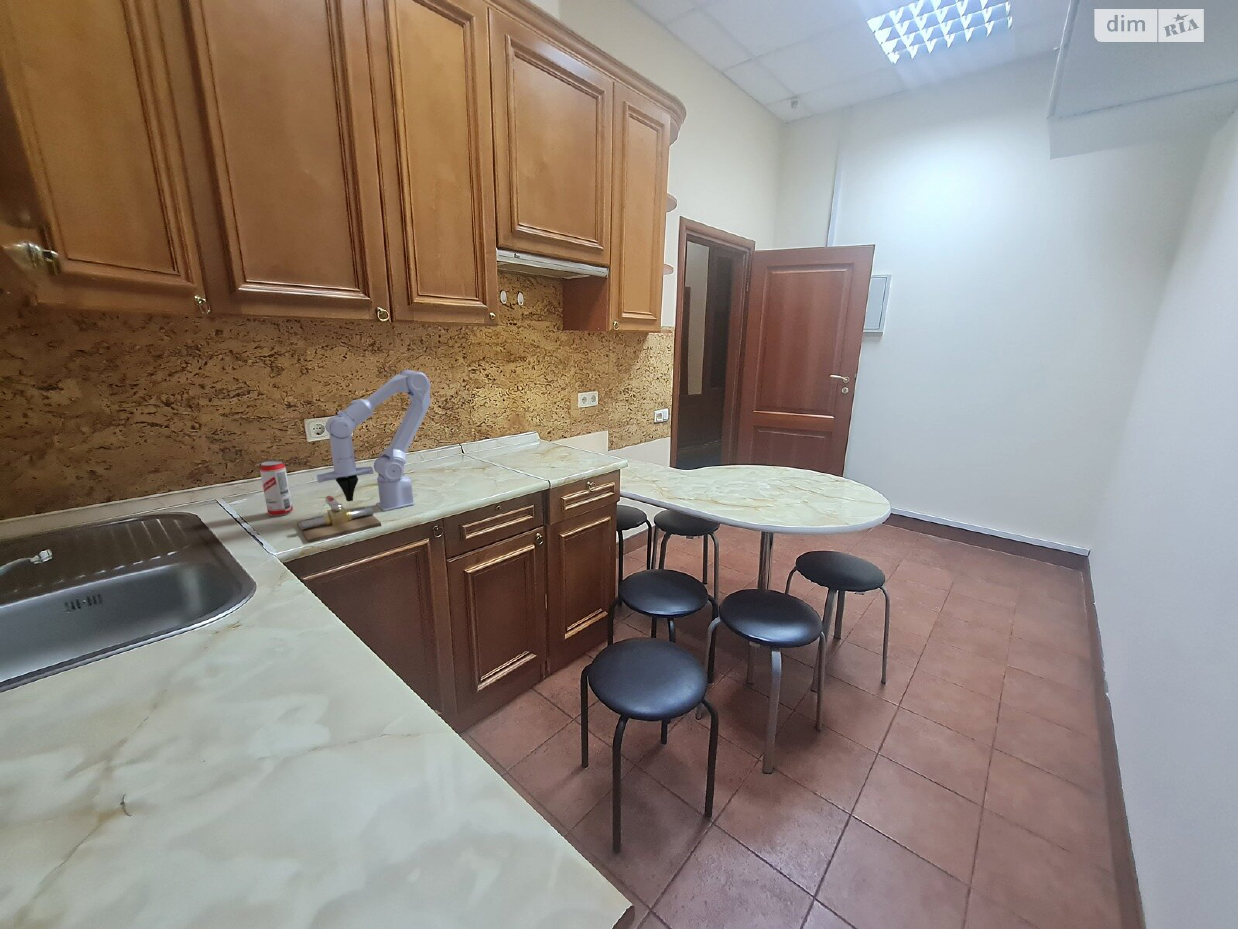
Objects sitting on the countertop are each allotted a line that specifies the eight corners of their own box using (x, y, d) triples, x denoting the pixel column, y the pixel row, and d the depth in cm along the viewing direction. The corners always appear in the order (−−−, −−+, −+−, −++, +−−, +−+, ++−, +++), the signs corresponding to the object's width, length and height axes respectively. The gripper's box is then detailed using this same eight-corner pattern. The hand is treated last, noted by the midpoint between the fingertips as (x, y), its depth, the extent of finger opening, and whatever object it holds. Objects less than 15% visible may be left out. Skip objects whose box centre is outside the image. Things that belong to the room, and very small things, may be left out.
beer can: (280, 518, 141) (271, 466, 136) (263, 516, 142) (252, 464, 138) (298, 510, 147) (289, 460, 142) (281, 508, 148) (272, 459, 144)
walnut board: (365, 510, 148) (364, 507, 148) (381, 525, 137) (380, 522, 136) (296, 524, 136) (296, 521, 136) (308, 543, 125) (307, 539, 125)
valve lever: (343, 510, 135) (342, 504, 135) (332, 512, 134) (331, 506, 133) (333, 499, 143) (332, 494, 143) (323, 501, 141) (322, 496, 141)
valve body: (370, 514, 144) (368, 500, 143) (374, 518, 141) (372, 504, 140) (300, 529, 132) (298, 515, 131) (303, 534, 129) (301, 519, 128)
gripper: (366, 450, 147) (371, 492, 151) (311, 458, 138) (319, 502, 142) (373, 455, 142) (378, 497, 146) (317, 463, 133) (324, 508, 137)
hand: (349, 500), depth 144 cm, fingers closed
